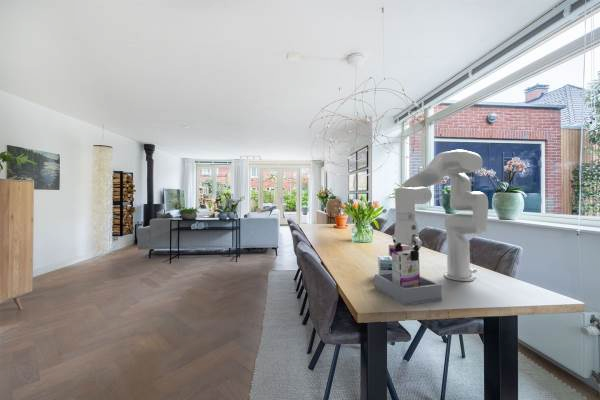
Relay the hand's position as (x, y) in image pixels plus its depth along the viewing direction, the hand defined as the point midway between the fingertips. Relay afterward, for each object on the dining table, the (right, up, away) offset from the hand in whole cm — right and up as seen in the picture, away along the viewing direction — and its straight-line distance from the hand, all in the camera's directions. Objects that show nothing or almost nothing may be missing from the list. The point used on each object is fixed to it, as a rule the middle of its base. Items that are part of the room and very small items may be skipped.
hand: (406, 257), depth 107 cm
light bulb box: (-2, -15, +19) cm, 24 cm away
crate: (0, -15, 0) cm, 15 cm away
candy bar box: (0, -14, 0) cm, 14 cm away
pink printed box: (+8, -15, +26) cm, 31 cm away
